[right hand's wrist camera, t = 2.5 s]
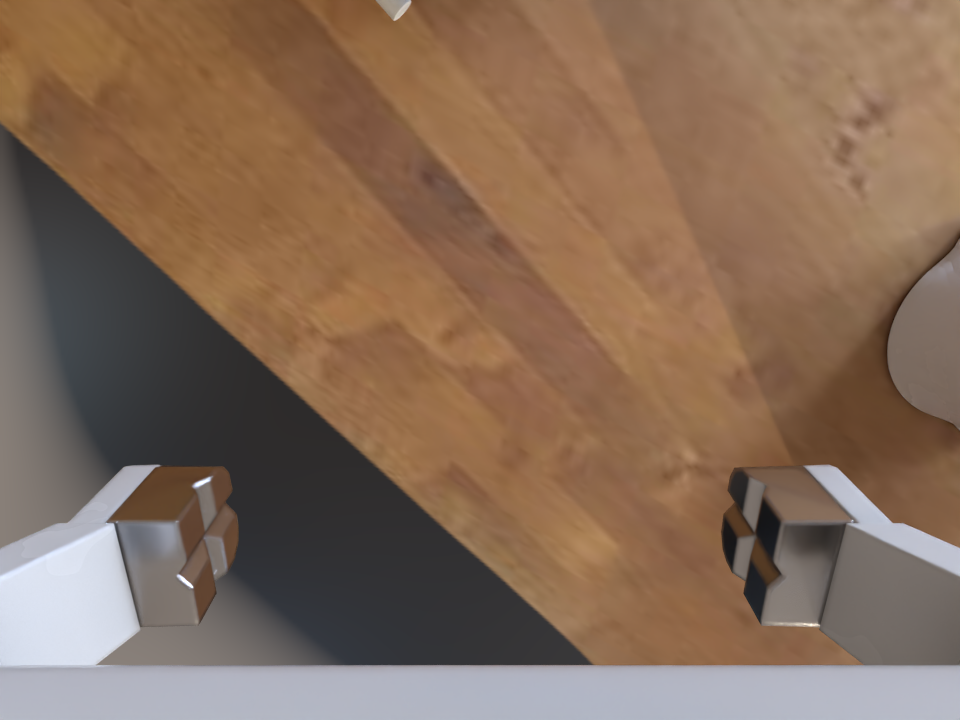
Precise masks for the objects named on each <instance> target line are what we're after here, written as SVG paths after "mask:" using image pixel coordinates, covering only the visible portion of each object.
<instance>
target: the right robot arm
mask: <svg viewBox="0 0 960 720" xmlns="http://www.w3.org/2000/svg"><path fill="white" fill-rule="evenodd" d="M887 359H888V367H889V371H890V375H891V377H892V380H893V382H894V384H895V386H896V388H897V390H898V391H899V392H900V394H901V395H902V396H903V397H904V398H905V399H906V400H907V401H908V402H909V403H910V404H911V405H913V406H914V407H916V408H917V409H919V410H921V411H923V412H925V413H927V414H929V415H932V416H935V417H938V418H940V419H943V420H945V421H948V422H950V423H953V424H954V425H955V426H956V427H957V428H958V429H959V431H960V238H959V240H958V242H957V243H956V245H955V247H954V248H953V249H952V250H951V252H950V253H949V254H948V255H946V256H945V257H944V258H943V259H942V260H941V261H940V262H939V263H937V264H936V265H935V266H934V267H933V268H932V269H930V270H929V271H928V272H927V273H926V274H925V275H924V276H923V277H922V278H921V279H920V280H919V281H918V282H917V283H916V285H915V286H914V287H913V288H912V289H911V291H910V292H909V294H908V295H907V296H906V298H905V299H904V301H903V303H902V304H901V306H900V308H899V310H898V312H897V314H896V316H895V319H894V321H893V324H892V327H891V330H890V334H889V339H888V348H887ZM231 492H232V486H231V481H230V477H229V472H228V471H227V470H226V469H225V468H224V467H219V466H167V465H163V466H160V465H132V466H126V467H123V468H122V469H121V470H120V471H119V472H118V473H117V474H116V475H115V476H114V477H113V478H112V479H111V480H110V481H109V482H108V483H107V484H106V485H105V486H104V487H103V488H102V489H101V490H100V491H99V492H98V493H97V494H96V495H95V496H94V497H93V498H92V499H91V500H90V501H89V502H88V503H87V504H86V505H85V506H84V507H83V508H82V509H81V510H80V511H79V512H78V513H77V514H76V515H75V516H74V517H73V518H72V519H71V520H70V521H69V522H68V523H56V524H54V525H52V526H50V527H47V528H45V529H43V530H41V531H38V532H36V533H34V534H31V535H29V536H27V537H25V538H22V539H20V540H18V541H16V542H13V543H11V544H9V545H6V546H4V547H2V548H0V720H960V548H958V547H956V546H953V545H951V544H949V543H947V542H944V541H942V540H940V539H938V538H935V537H933V536H931V535H929V534H926V533H924V532H922V531H919V530H917V529H915V528H913V527H910V526H908V525H906V524H904V523H892V522H891V521H890V520H889V519H888V518H887V517H886V516H885V515H884V514H883V513H882V512H881V511H880V510H879V509H878V508H877V507H876V506H875V505H874V504H873V503H872V502H871V501H870V500H869V499H868V498H867V497H866V496H865V495H864V494H863V493H862V492H861V491H860V490H859V489H858V488H857V487H856V486H855V485H854V484H853V483H852V482H851V481H850V480H849V479H848V478H847V477H846V476H845V475H844V474H843V473H842V472H841V471H840V470H839V469H838V468H836V467H834V466H831V465H808V466H770V467H738V468H734V470H733V472H732V474H731V476H730V480H729V485H728V492H729V493H730V495H731V497H732V498H733V500H734V501H735V503H734V504H733V505H732V506H731V507H730V508H729V509H728V510H727V511H726V512H725V513H724V515H723V522H722V530H721V534H722V546H723V551H724V555H725V558H726V561H727V563H728V565H729V567H730V569H731V571H732V573H734V574H735V575H737V576H738V577H740V578H741V579H743V580H744V581H746V582H745V588H744V595H745V597H746V599H747V600H748V602H749V604H750V606H751V608H752V609H753V611H754V613H755V615H756V617H757V619H758V620H759V622H760V624H761V625H762V626H798V627H820V628H819V630H820V631H822V632H823V633H824V634H825V635H827V636H828V637H829V638H831V639H832V640H833V641H834V642H836V643H837V644H838V645H840V646H841V647H842V648H843V649H845V650H846V651H847V652H848V653H850V654H851V655H852V656H854V657H855V658H856V659H857V660H859V661H860V662H861V663H863V664H864V665H96V664H98V663H99V662H100V661H101V660H103V659H104V658H105V657H107V656H108V655H109V654H110V653H112V652H113V651H114V650H115V649H117V648H118V647H119V646H121V645H122V644H123V643H125V642H126V641H127V640H128V639H130V638H131V637H132V636H134V635H135V634H136V633H137V632H139V631H140V627H161V626H196V625H199V624H200V622H201V620H202V619H203V617H204V615H205V613H206V611H207V610H208V608H209V606H210V604H211V602H212V600H213V599H214V597H215V595H216V588H215V582H214V581H216V580H217V579H219V578H220V577H222V576H223V575H225V574H226V573H228V571H229V569H230V567H231V565H232V563H233V561H234V559H235V554H236V550H237V545H238V521H237V515H236V513H235V512H234V511H233V510H232V509H231V508H230V507H229V506H228V505H227V504H226V503H225V501H226V500H227V498H228V497H229V495H230V493H231Z"/></svg>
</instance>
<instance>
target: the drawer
mask: <svg viewBox="0 0 960 720" xmlns="http://www.w3.org/2000/svg"><path fill="white" fill-rule="evenodd" d="M376 2H377V3H378V4H379V5H380V6H381V7H382V8H383V9H384V11H385V12H386V13H387V14H388V15H389V16H390V17H391V18H392V20H394V21H395V20H397V19H398V18H400V17H401V16H402V15H403V14H404V13H405V11H406V10H407V9H408V7H409V6H410V4H411V0H376Z"/></svg>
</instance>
